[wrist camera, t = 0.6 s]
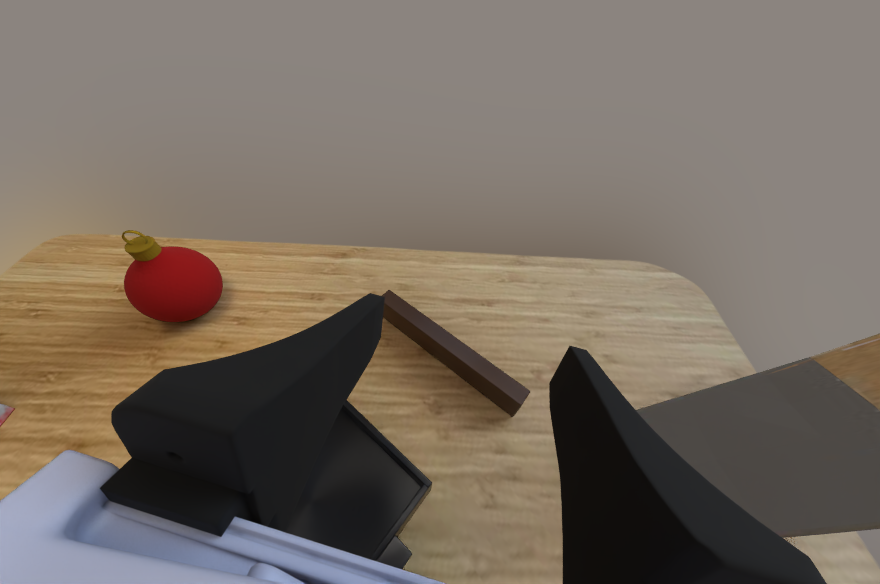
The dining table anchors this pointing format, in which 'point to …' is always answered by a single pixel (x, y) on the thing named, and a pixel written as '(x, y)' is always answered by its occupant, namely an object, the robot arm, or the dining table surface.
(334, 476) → the roasting tin
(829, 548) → the dining table surface
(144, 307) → the christmas ornament
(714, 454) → the sandwich container
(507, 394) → the back rail
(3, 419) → the grey milk carton
